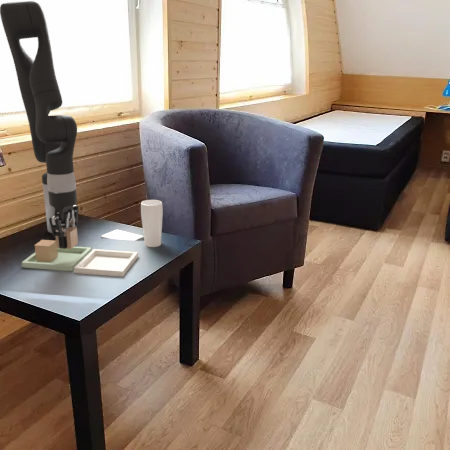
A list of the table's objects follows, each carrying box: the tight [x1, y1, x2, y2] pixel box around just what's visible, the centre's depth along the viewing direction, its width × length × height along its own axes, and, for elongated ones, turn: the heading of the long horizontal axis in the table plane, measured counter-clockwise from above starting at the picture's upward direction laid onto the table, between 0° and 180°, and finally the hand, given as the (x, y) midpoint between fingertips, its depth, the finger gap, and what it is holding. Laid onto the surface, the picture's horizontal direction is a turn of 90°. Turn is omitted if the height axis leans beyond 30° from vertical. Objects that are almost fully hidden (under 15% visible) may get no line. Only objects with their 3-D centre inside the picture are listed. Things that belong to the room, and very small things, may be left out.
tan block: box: [54, 226, 79, 249], centre depth 137 cm, size 4×4×5 cm
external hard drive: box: [100, 229, 144, 242], centre depth 160 cm, size 2×8×12 cm
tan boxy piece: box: [34, 239, 58, 262], centre depth 140 cm, size 4×4×5 cm
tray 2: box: [73, 248, 139, 278], centre depth 138 cm, size 14×14×2 cm
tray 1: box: [21, 246, 93, 272], centre depth 140 cm, size 14×15×2 cm
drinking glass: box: [140, 199, 164, 248], centre depth 151 cm, size 7×7×15 cm
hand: (67, 244), depth 138 cm, fingers closed on tan block, 4 cm apart
